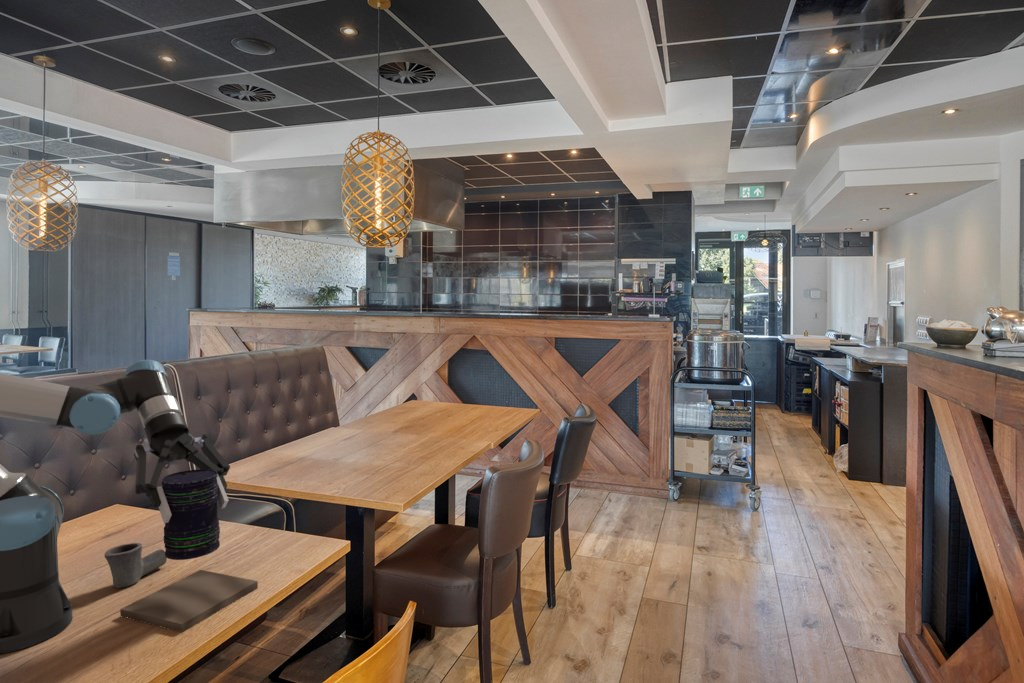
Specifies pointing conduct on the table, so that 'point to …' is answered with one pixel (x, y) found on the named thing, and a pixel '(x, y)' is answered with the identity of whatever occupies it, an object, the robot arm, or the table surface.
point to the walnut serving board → (189, 600)
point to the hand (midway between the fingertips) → (197, 511)
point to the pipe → (132, 563)
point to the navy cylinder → (191, 514)
